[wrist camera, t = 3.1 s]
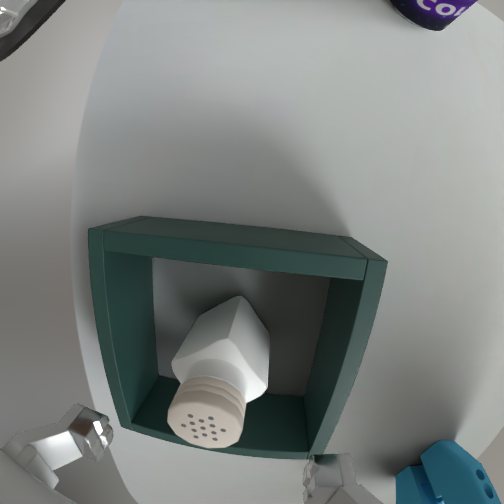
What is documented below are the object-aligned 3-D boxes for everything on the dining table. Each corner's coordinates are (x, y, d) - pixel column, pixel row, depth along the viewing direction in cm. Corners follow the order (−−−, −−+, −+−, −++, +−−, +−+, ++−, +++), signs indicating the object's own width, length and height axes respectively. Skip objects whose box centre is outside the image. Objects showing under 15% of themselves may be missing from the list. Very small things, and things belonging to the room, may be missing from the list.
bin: (149, 381, 21) (121, 426, 15) (140, 215, 17) (87, 228, 12) (313, 404, 20) (320, 459, 14) (352, 237, 17) (388, 261, 11)
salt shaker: (273, 335, 19) (270, 442, 9) (226, 357, 19) (196, 459, 10) (243, 289, 18) (213, 382, 9) (195, 315, 19) (139, 406, 9)
